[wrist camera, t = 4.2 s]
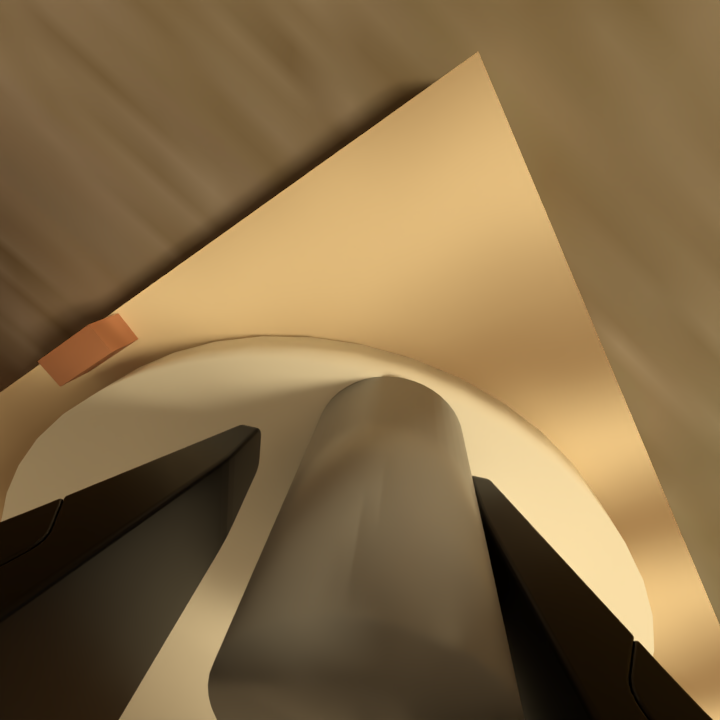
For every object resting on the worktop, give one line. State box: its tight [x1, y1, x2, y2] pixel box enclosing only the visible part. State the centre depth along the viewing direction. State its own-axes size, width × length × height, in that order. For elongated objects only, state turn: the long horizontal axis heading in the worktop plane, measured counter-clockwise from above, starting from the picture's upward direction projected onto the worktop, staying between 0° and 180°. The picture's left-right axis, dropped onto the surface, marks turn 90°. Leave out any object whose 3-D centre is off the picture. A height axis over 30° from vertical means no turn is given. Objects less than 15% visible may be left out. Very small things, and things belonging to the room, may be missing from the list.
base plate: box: [0, 52, 720, 720], centre depth 13 cm, size 22×22×2 cm
